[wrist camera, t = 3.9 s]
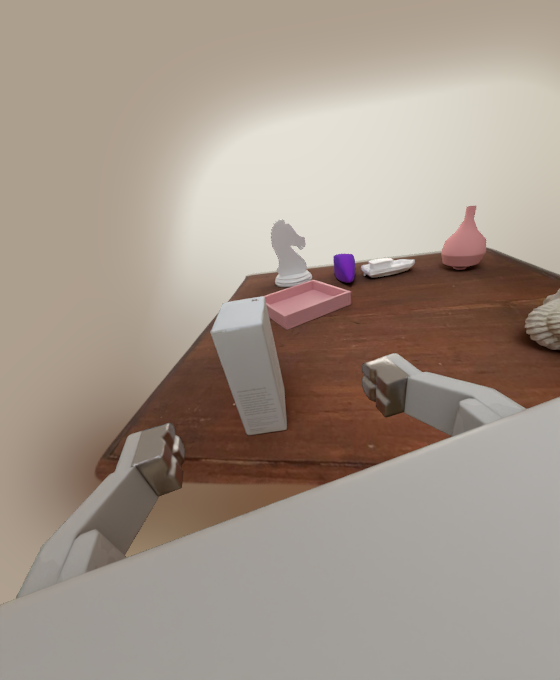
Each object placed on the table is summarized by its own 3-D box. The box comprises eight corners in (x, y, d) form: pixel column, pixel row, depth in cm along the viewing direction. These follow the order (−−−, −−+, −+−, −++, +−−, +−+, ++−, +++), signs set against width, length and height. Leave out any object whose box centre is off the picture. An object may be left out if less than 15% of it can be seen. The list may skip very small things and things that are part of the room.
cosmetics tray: (286, 330, 43) (284, 316, 41) (258, 310, 52) (256, 298, 51) (351, 304, 47) (350, 291, 46) (314, 290, 57) (313, 279, 56)
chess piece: (315, 282, 62) (308, 216, 54) (276, 289, 62) (264, 224, 55) (308, 272, 70) (302, 214, 63) (274, 278, 71) (264, 221, 63)
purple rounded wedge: (338, 272, 53) (331, 250, 65) (339, 293, 56) (332, 268, 68) (362, 269, 52) (350, 247, 64) (361, 290, 55) (350, 266, 67)
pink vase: (431, 270, 56) (439, 210, 50) (452, 261, 59) (462, 204, 53) (468, 275, 50) (482, 209, 44) (489, 265, 53) (506, 201, 47)
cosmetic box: (249, 395, 30) (221, 302, 24) (284, 390, 30) (265, 294, 24) (245, 438, 24) (207, 331, 19) (288, 431, 24) (264, 322, 18)
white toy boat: (359, 274, 62) (359, 260, 60) (408, 265, 62) (409, 251, 60) (368, 281, 57) (368, 266, 55) (421, 271, 56) (423, 256, 55)
